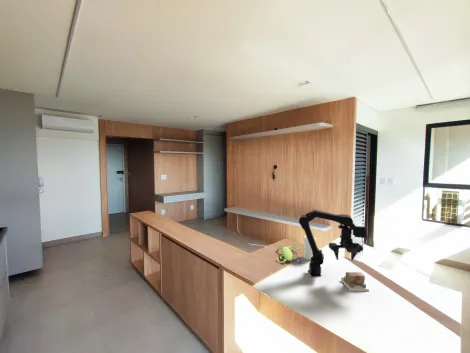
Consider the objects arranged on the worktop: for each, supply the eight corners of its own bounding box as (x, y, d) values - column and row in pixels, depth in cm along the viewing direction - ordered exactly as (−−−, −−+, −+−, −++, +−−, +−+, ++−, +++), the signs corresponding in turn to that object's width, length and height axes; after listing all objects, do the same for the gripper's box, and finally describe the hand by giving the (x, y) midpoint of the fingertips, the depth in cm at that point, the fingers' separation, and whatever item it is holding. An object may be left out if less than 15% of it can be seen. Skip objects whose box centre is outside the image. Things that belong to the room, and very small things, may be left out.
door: (348, 285, 126) (349, 275, 126) (345, 281, 130) (345, 272, 130) (365, 285, 126) (365, 275, 126) (361, 281, 130) (361, 272, 130)
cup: (313, 261, 157) (314, 240, 156) (302, 258, 162) (302, 237, 160) (315, 256, 164) (316, 236, 163) (304, 254, 169) (305, 234, 167)
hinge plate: (349, 290, 123) (349, 285, 123) (341, 280, 133) (341, 275, 133) (368, 290, 123) (369, 285, 123) (358, 280, 133) (359, 275, 133)
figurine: (300, 250, 176) (300, 243, 176) (302, 266, 150) (303, 259, 150) (277, 248, 180) (277, 241, 180) (276, 263, 154) (276, 256, 154)
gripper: (337, 240, 124) (335, 266, 126) (369, 241, 124) (367, 266, 126) (328, 233, 135) (327, 257, 137) (358, 234, 135) (356, 257, 137)
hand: (344, 260), depth 134 cm, fingers open, 9 cm apart
